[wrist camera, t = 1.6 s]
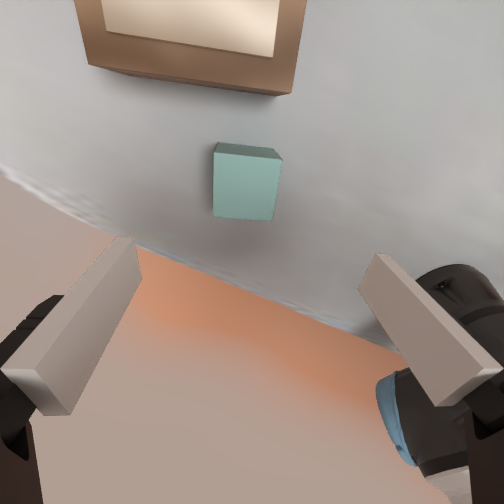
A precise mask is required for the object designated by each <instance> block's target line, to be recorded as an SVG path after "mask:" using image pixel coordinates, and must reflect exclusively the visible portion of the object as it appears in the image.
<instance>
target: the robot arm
mask: <svg viewBox="0 0 504 504" xmlns="http://www.w3.org/2000/svg"><path fill="white" fill-rule="evenodd" d="M141 280H142V277H141V272H140V267H139V262H138V257H137V252H136V247H135V242H134V237H124V236H117V237H116V238H115V239H114V240H113V241H112V243H111V244H110V245H109V246H108V247H107V248H106V249H105V251H104V252H103V253H102V254H101V255H100V256H99V257H98V258H97V260H96V261H95V262H94V263H93V264H92V265H91V266H90V267H89V269H88V270H87V271H86V272H85V273H84V274H83V276H82V277H81V278H80V279H79V280H78V281H77V282H76V283H75V284H74V286H73V287H72V288H71V289H70V290H69V291H68V292H67V294H66V295H53V296H52V297H50V298H48V299H47V300H45V301H44V302H42V303H40V304H39V305H38V306H37V307H36V308H35V309H34V310H33V311H32V312H31V313H30V314H29V315H28V316H27V317H26V319H25V320H23V321H22V322H21V323H20V324H19V325H18V326H17V327H16V330H13V331H12V332H11V333H10V334H9V335H8V336H7V337H6V339H4V340H3V342H1V343H0V504H43V498H42V492H41V485H40V479H39V472H38V466H37V459H36V453H35V446H34V440H33V433H32V426H31V424H30V422H29V418H30V417H31V415H32V414H33V412H34V411H35V409H36V408H37V409H38V410H39V411H40V412H41V413H42V414H43V415H44V416H59V415H60V416H61V415H70V414H71V413H72V411H73V409H74V407H75V405H76V403H77V401H78V399H79V398H80V396H81V394H82V392H83V390H84V388H85V386H86V384H87V383H88V381H89V379H90V377H91V375H92V373H93V371H94V369H95V367H96V365H97V364H98V362H99V360H100V358H101V356H102V354H103V352H104V350H105V348H106V346H107V344H108V343H109V341H110V338H111V337H112V335H113V333H114V331H115V329H116V327H117V325H118V324H119V321H120V320H121V318H122V316H123V314H124V312H125V310H126V308H127V307H128V305H129V303H130V301H131V299H132V297H133V295H134V293H135V291H136V289H137V288H138V286H139V284H140V282H141ZM357 289H358V291H359V292H360V294H361V295H362V297H363V298H364V300H365V301H366V303H367V304H368V306H369V307H370V309H371V310H372V312H373V313H374V315H375V316H376V318H377V319H378V321H379V322H380V324H381V325H382V327H383V328H384V330H385V331H386V333H387V335H388V336H389V338H390V339H391V341H392V342H393V344H394V345H395V347H396V348H397V350H398V351H399V353H400V354H401V356H402V357H403V359H404V360H405V362H406V363H407V365H408V366H409V367H408V368H406V369H403V370H401V371H395V372H394V373H393V374H391V375H389V376H387V377H385V378H383V379H381V380H380V381H379V382H378V383H377V385H376V399H377V403H378V407H379V410H380V413H381V416H382V419H383V421H384V424H385V427H386V429H387V431H388V434H389V436H390V438H391V440H392V441H393V443H394V444H395V446H396V449H397V451H398V453H399V454H400V456H401V457H402V459H403V460H404V461H405V462H406V463H407V464H409V465H412V466H414V467H417V466H419V468H420V470H421V472H422V474H423V476H424V478H425V479H426V481H427V482H428V483H430V484H431V485H433V486H434V487H436V488H437V489H439V490H440V491H441V492H443V493H444V494H445V495H446V496H447V497H448V499H449V500H450V502H451V504H504V300H503V299H502V298H501V296H500V295H499V293H498V292H497V291H496V289H495V288H494V287H493V285H492V284H491V283H490V281H489V280H488V278H487V277H486V276H485V275H483V274H482V273H481V272H479V271H478V270H476V269H475V268H473V267H471V266H468V265H450V266H446V267H442V268H439V269H437V270H434V271H432V272H430V273H428V274H426V275H424V276H423V277H421V278H420V279H418V280H417V281H415V280H414V279H413V278H412V277H411V276H410V275H409V274H408V273H406V272H405V271H404V270H403V269H402V268H401V267H400V266H399V265H398V264H397V263H396V262H395V261H394V260H393V259H392V258H391V257H390V256H389V255H388V254H378V253H376V254H375V256H374V257H373V259H372V261H371V263H370V265H369V267H368V269H367V271H366V273H365V275H364V277H363V279H362V281H361V283H360V285H359V287H358V288H357Z"/></svg>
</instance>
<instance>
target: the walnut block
mask: <svg viewBox="0 0 504 504" xmlns="http://www.w3.org/2000/svg"><path fill="white" fill-rule="evenodd" d="M74 2H75V7H76V11H77V16H78V20H79V25H80V29H81V33H82V38H83V42H84V47H85V51H86V56H87V60H88V64H90V65H93V66H97V67H100V68H104V69H108V70H111V71H115V72H119V73H122V74H126V75H129V76H136V77H143V78H150V79H157V80H165V81H172V82H179V83H186V84H193V85H200V86H207V87H215V88H222V89H229V90H236V91H243V92H250V93H258V94H265V95H272V96H280V95H285V94H289V93H291V92H292V86H293V80H294V74H295V68H296V62H297V56H298V50H299V44H300V38H301V32H302V27H303V21H304V15H305V9H306V3H307V0H74Z"/></svg>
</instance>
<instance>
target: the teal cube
mask: <svg viewBox="0 0 504 504" xmlns="http://www.w3.org/2000/svg"><path fill="white" fill-rule="evenodd" d="M282 161H283V160H282V158H281V157H280V156H279V155H278V154H277V153H276V151H275V150H274V149H272V148H263V147H254V146H246V145H237V144H228V143H219V142H218V144H217V147H216V149H215V151H214V172H213V217H219V218H232V219H245V220H259V221H272V218H273V212H274V206H275V201H276V195H277V189H278V184H279V178H280V172H281V167H282Z"/></svg>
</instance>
